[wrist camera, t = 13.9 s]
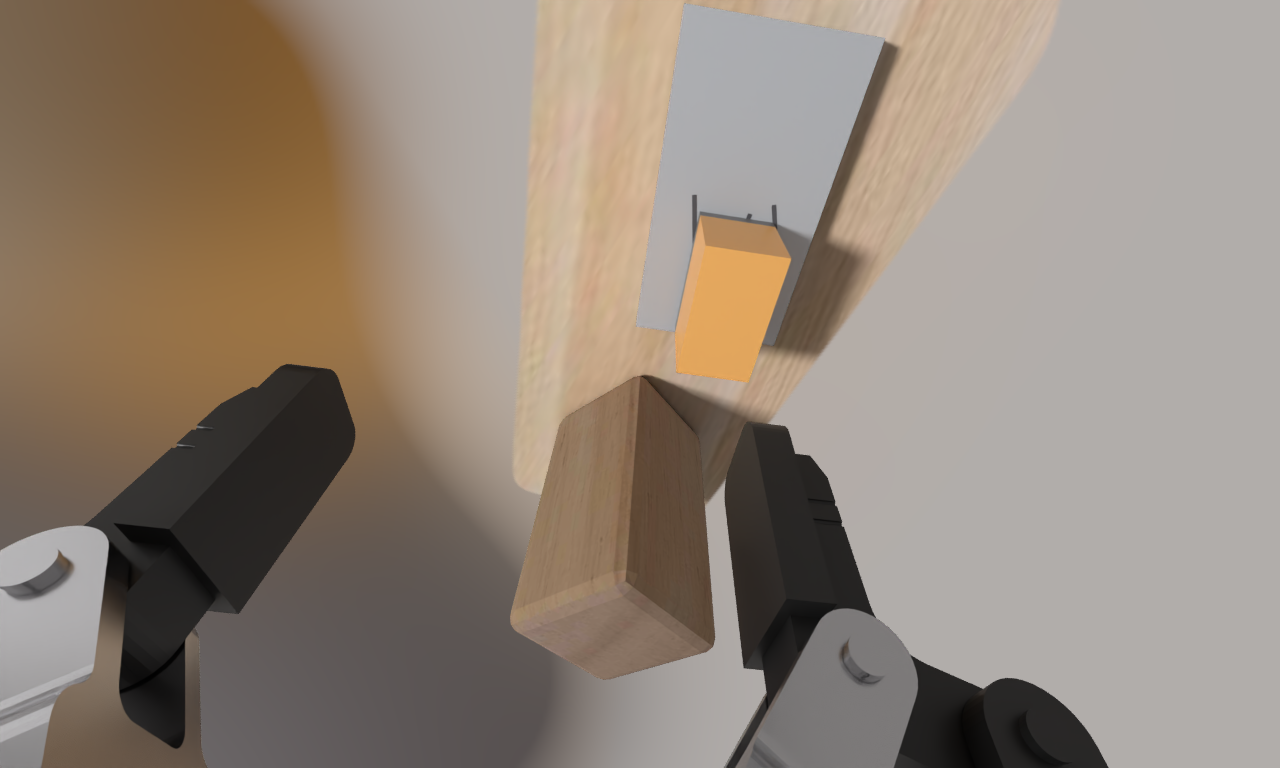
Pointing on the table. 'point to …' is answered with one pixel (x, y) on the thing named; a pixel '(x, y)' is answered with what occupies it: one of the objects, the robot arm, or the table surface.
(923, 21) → the table surface
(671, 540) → the block
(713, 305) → the block
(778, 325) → the board
